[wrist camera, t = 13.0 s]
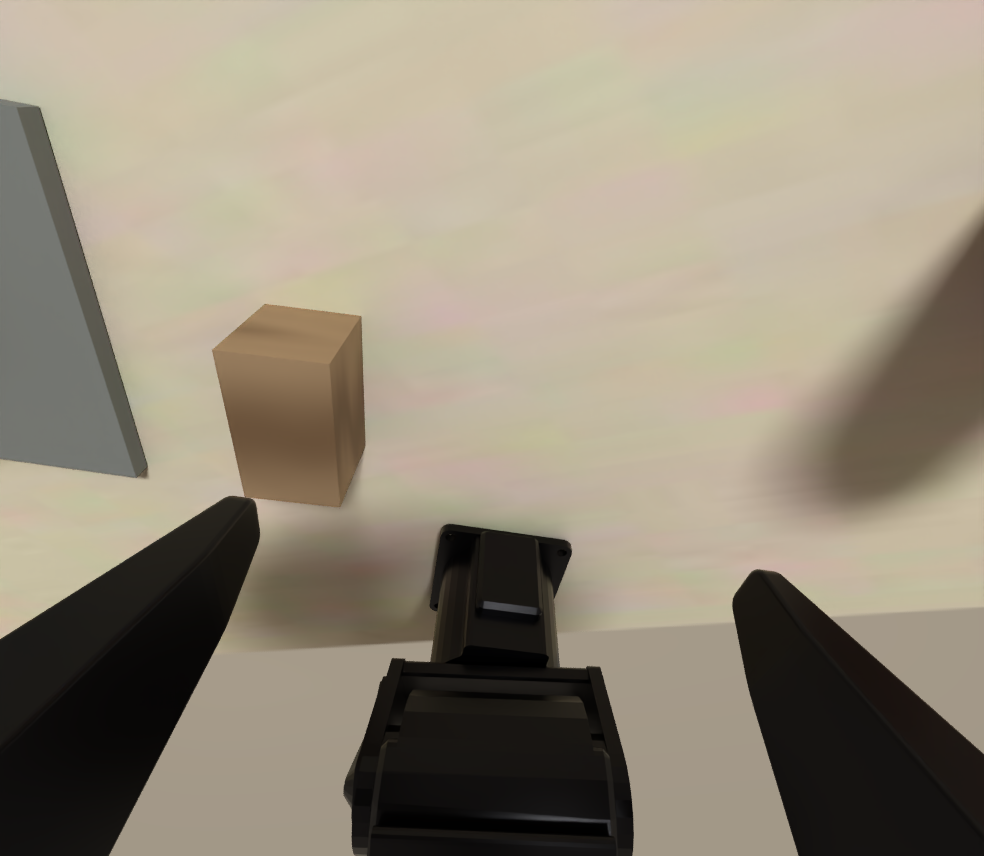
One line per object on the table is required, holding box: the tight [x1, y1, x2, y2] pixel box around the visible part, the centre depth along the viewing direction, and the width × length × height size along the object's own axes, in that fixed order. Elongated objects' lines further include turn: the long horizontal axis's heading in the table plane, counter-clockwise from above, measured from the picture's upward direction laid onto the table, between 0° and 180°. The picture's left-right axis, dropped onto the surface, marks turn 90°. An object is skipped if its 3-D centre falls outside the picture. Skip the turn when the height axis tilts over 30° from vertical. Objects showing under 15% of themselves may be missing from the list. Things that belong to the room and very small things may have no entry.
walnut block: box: [212, 304, 365, 507], centre depth 18 cm, size 6×4×4 cm, turn 173°
